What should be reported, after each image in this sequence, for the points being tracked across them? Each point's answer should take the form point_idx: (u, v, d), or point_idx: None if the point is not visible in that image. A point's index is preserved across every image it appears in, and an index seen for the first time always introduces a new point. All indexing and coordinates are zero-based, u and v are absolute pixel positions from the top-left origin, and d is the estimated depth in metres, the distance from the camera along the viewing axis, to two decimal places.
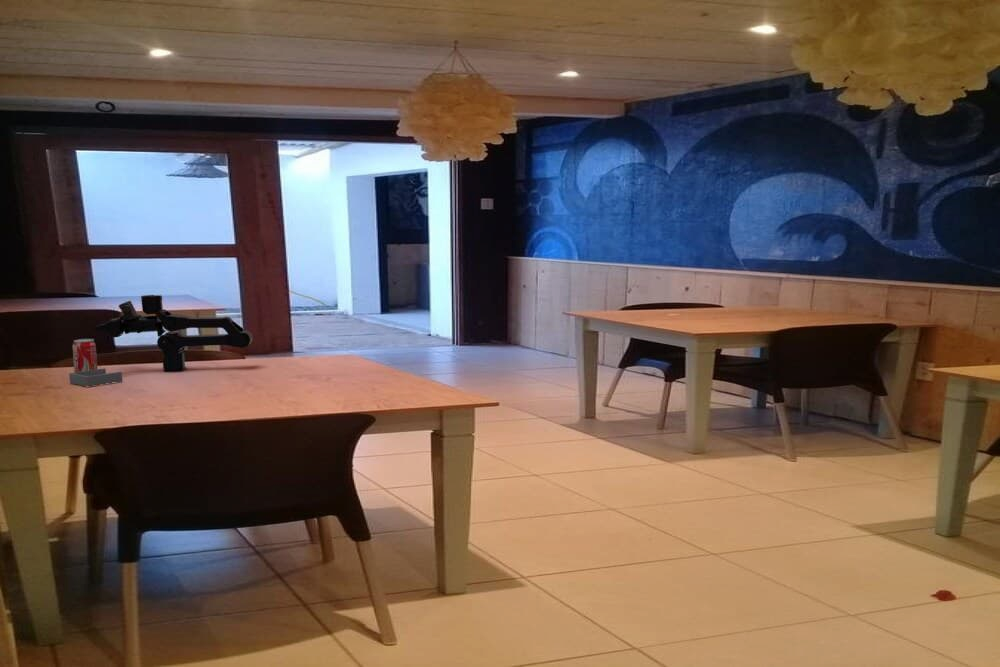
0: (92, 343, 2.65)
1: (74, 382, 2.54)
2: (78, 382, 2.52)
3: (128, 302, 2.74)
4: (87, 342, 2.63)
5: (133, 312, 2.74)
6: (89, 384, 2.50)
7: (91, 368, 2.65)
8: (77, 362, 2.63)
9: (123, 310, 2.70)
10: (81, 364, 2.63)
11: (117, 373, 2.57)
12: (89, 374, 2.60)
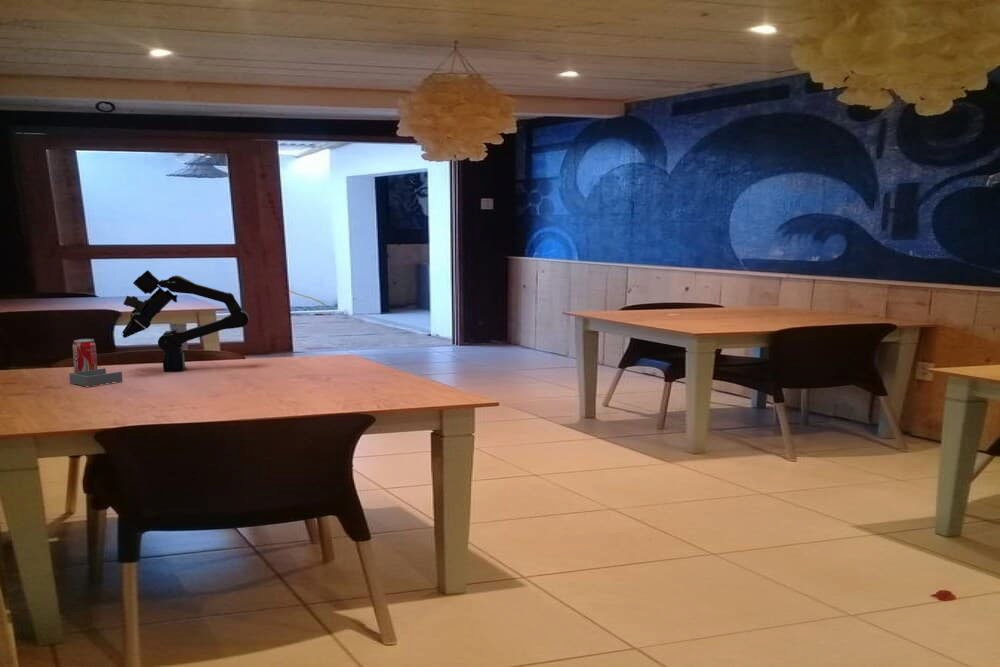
0: (92, 343, 2.65)
1: (74, 382, 2.54)
2: (78, 382, 2.52)
3: (128, 296, 2.70)
4: (87, 342, 2.63)
5: (139, 300, 2.72)
6: (89, 384, 2.50)
7: (91, 368, 2.65)
8: (77, 362, 2.63)
9: (132, 303, 2.68)
10: (81, 364, 2.63)
11: (117, 373, 2.57)
12: (89, 374, 2.60)
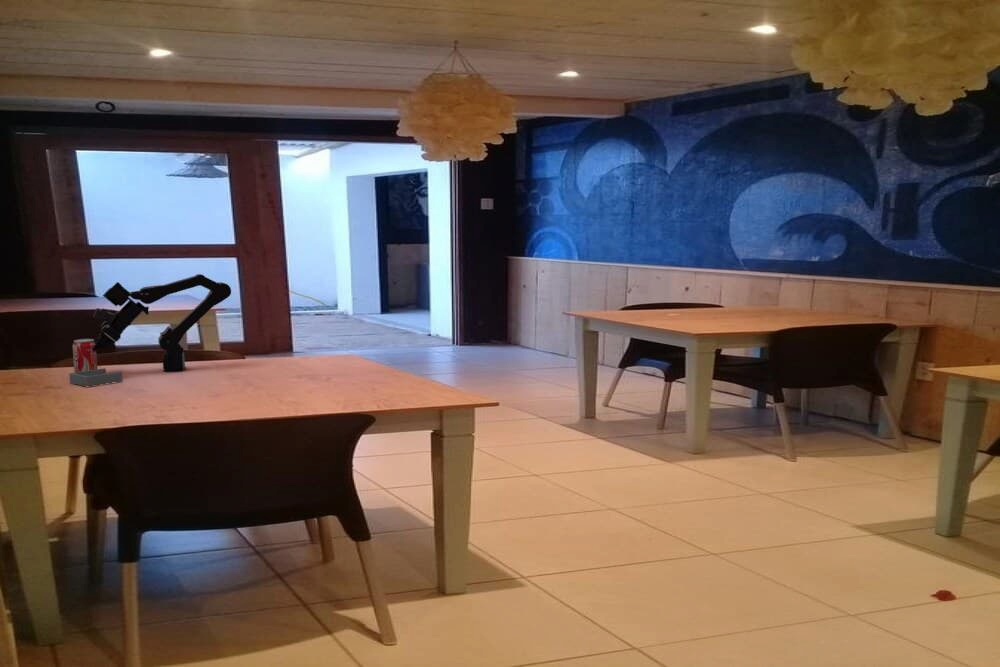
0: (92, 343, 2.65)
1: (74, 382, 2.54)
2: (78, 382, 2.52)
3: (98, 308, 2.65)
4: (87, 342, 2.63)
5: (110, 313, 2.67)
6: (89, 384, 2.50)
7: (91, 368, 2.65)
8: (77, 362, 2.63)
9: (102, 316, 2.63)
10: (81, 364, 2.63)
11: (117, 373, 2.57)
12: (89, 374, 2.60)
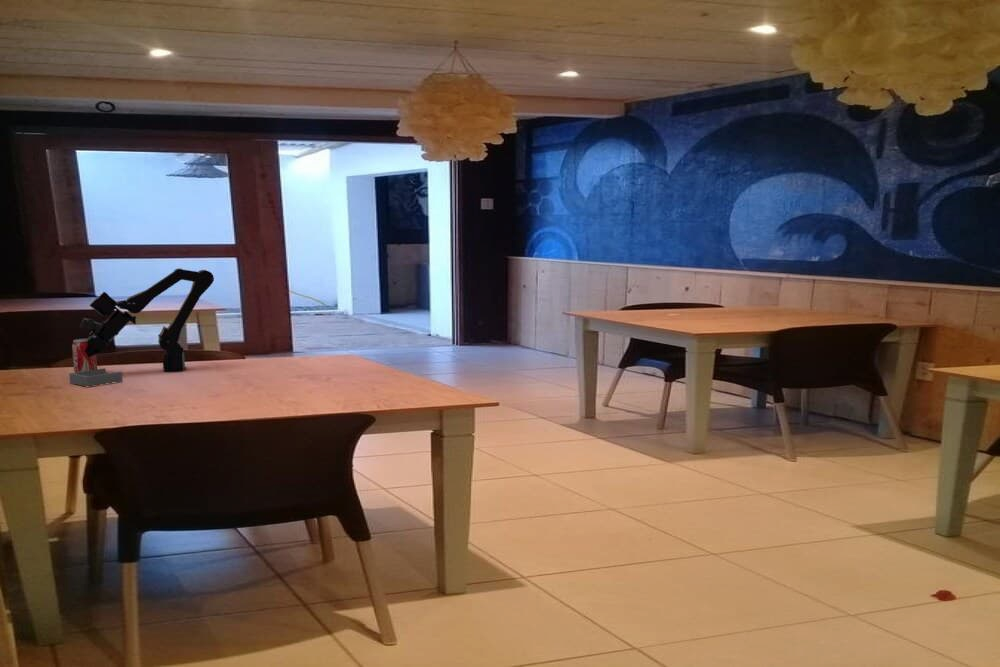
0: None
1: (74, 382, 2.54)
2: (78, 382, 2.52)
3: (85, 318, 2.64)
4: (86, 342, 2.63)
5: (96, 323, 2.66)
6: (89, 384, 2.50)
7: (91, 368, 2.65)
8: (77, 362, 2.63)
9: (88, 326, 2.62)
10: (81, 363, 2.63)
11: (117, 373, 2.57)
12: (89, 374, 2.60)
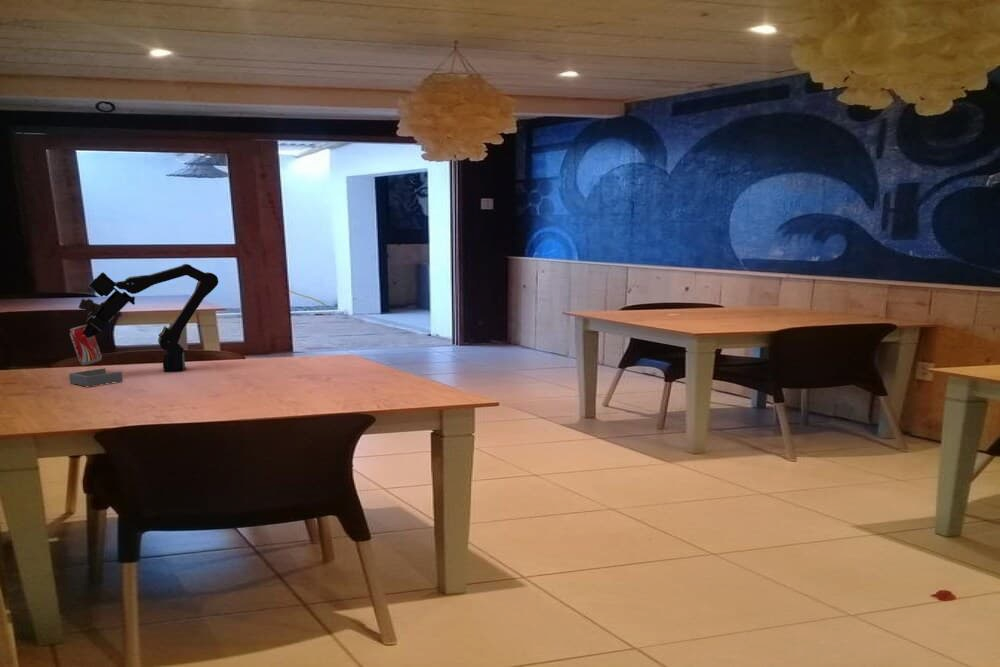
0: None
1: (74, 382, 2.54)
2: (78, 382, 2.52)
3: (83, 299, 2.63)
4: (80, 328, 2.61)
5: (95, 303, 2.65)
6: (89, 384, 2.50)
7: (91, 353, 2.63)
8: (77, 349, 2.62)
9: (87, 307, 2.60)
10: (80, 350, 2.62)
11: (117, 373, 2.57)
12: (89, 374, 2.60)
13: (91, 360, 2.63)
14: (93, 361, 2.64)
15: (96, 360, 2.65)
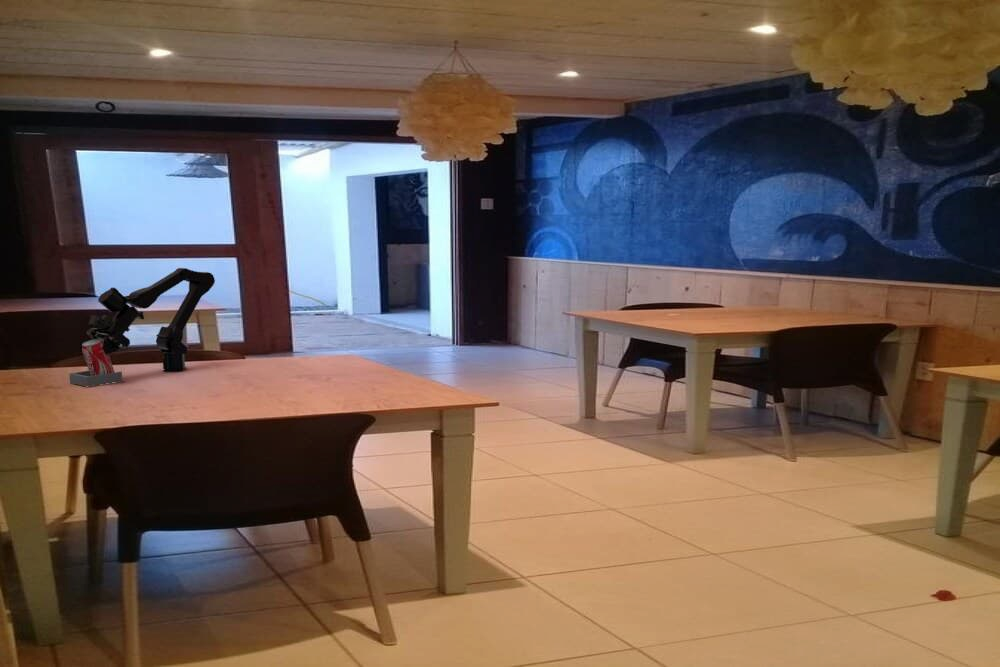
0: (102, 343, 2.55)
1: (74, 382, 2.54)
2: (78, 382, 2.52)
3: (96, 316, 2.55)
4: (97, 344, 2.53)
5: None
6: (89, 384, 2.50)
7: (108, 369, 2.56)
8: (93, 366, 2.53)
9: (105, 323, 2.54)
10: (97, 367, 2.54)
11: (117, 373, 2.57)
12: (89, 374, 2.60)
13: None
14: None
15: None
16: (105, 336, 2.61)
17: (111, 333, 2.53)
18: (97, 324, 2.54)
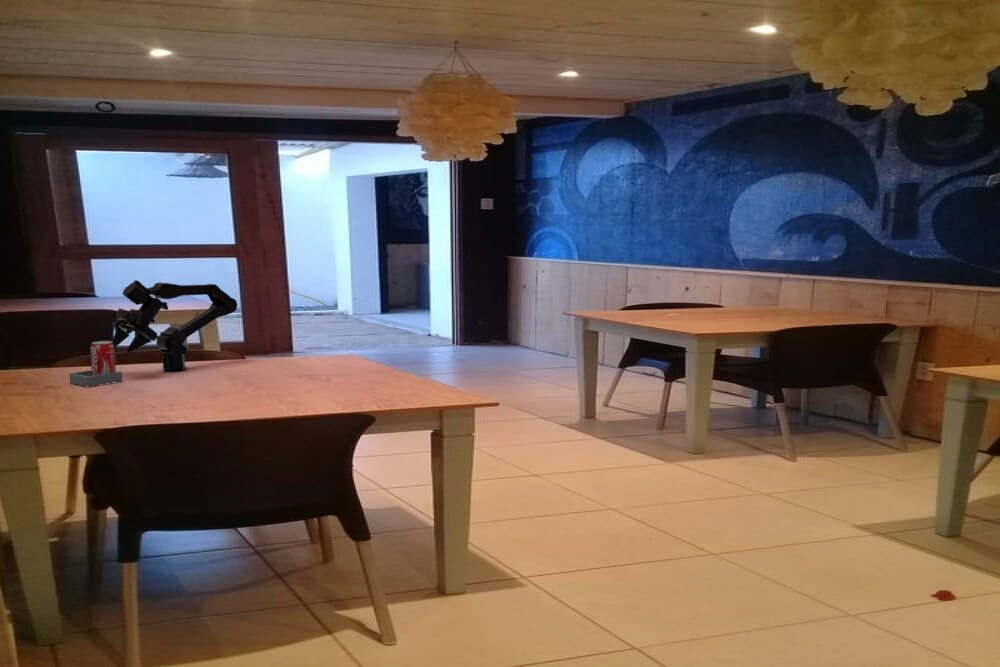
0: (111, 345, 2.57)
1: (74, 382, 2.54)
2: (78, 382, 2.52)
3: None
4: (107, 344, 2.55)
5: None
6: (89, 384, 2.50)
7: (110, 371, 2.57)
8: (97, 365, 2.54)
9: (133, 317, 2.62)
10: (100, 366, 2.55)
11: (117, 373, 2.57)
12: (89, 374, 2.60)
13: None
14: None
15: None
16: None
17: (139, 327, 2.61)
18: (125, 318, 2.61)
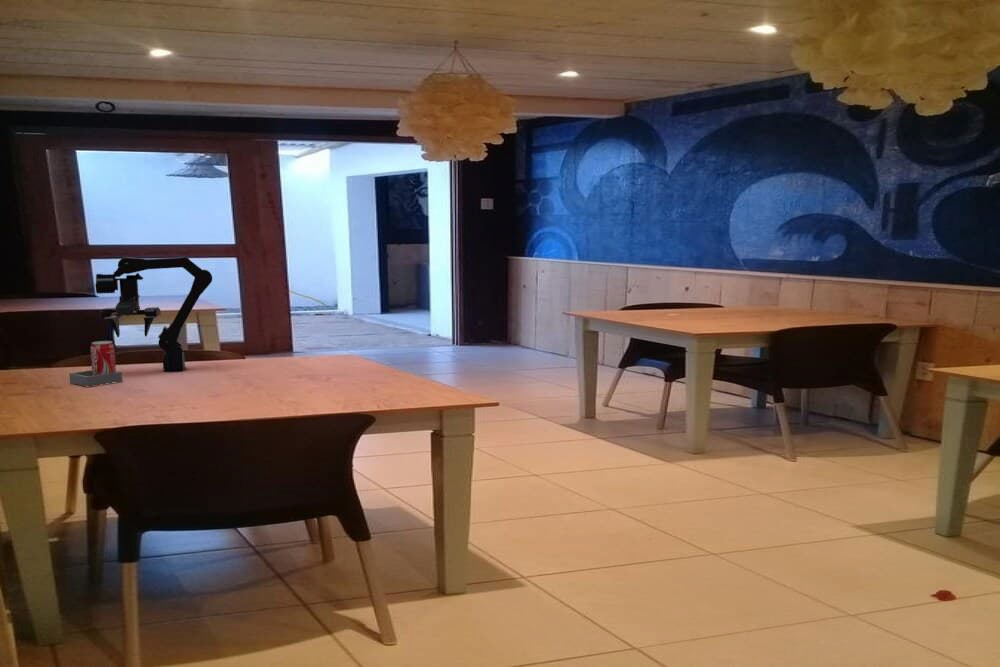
0: (111, 345, 2.57)
1: (74, 382, 2.54)
2: (78, 382, 2.52)
3: (124, 307, 2.64)
4: (107, 344, 2.55)
5: (127, 302, 2.67)
6: (89, 384, 2.50)
7: (110, 371, 2.57)
8: (97, 365, 2.54)
9: (138, 308, 2.67)
10: (100, 366, 2.55)
11: (117, 373, 2.57)
12: (89, 374, 2.60)
13: None
14: None
15: None
16: None
17: (147, 313, 2.70)
18: (131, 313, 2.66)
